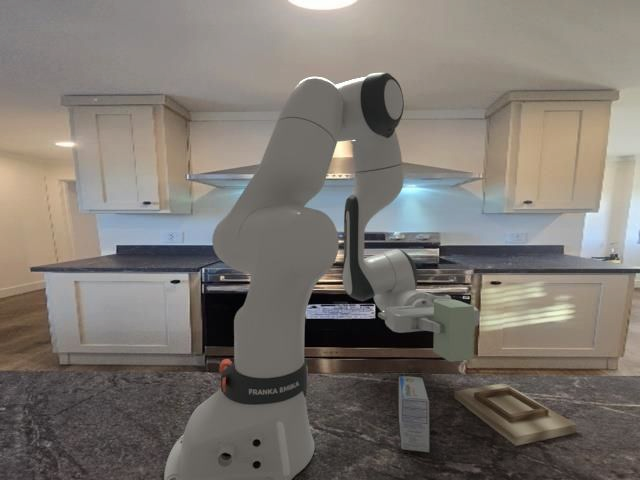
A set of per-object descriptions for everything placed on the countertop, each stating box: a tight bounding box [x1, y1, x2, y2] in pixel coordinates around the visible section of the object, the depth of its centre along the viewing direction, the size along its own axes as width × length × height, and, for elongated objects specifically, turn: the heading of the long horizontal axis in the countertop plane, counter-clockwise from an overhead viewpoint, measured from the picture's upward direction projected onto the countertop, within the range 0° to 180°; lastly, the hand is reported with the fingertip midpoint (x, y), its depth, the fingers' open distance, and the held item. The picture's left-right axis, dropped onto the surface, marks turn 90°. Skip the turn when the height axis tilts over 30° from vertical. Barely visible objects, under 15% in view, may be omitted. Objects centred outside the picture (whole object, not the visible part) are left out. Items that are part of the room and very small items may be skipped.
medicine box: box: [398, 375, 430, 453], centre depth 53 cm, size 8×4×9 cm, turn 168°
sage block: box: [432, 299, 475, 363], centre depth 59 cm, size 5×5×10 cm
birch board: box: [453, 383, 577, 447], centre depth 59 cm, size 13×15×2 cm
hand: (456, 328), depth 58 cm, fingers closed on sage block, 5 cm apart
